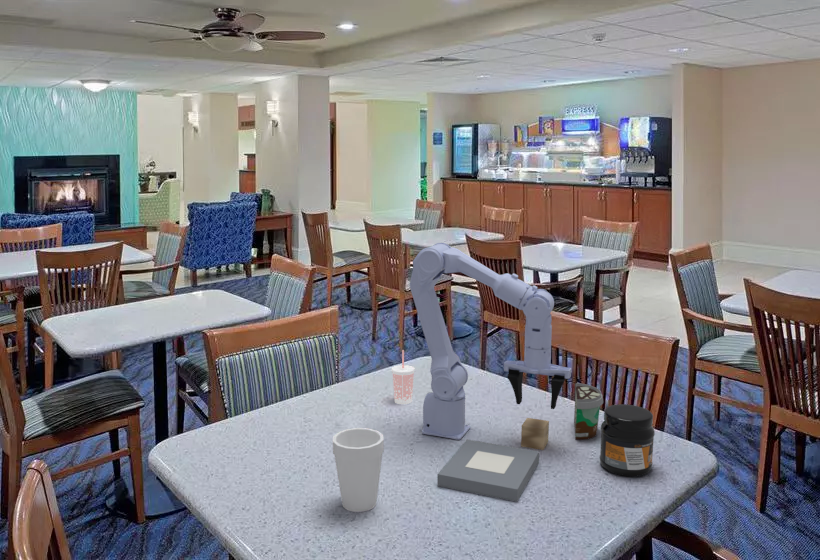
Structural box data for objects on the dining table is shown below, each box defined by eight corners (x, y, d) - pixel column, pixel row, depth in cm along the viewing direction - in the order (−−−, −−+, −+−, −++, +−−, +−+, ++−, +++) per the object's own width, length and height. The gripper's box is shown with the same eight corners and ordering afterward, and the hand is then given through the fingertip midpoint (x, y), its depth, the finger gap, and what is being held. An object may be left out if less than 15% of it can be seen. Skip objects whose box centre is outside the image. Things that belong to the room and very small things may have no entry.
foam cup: (335, 492, 133) (333, 428, 131) (383, 490, 134) (382, 426, 132) (334, 517, 124) (332, 450, 122) (385, 515, 125) (384, 447, 122)
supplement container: (638, 483, 136) (642, 426, 134) (589, 467, 143) (592, 413, 141) (660, 466, 144) (664, 411, 142) (613, 451, 151) (616, 399, 149)
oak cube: (521, 446, 154) (521, 425, 153) (526, 438, 158) (527, 417, 157) (543, 450, 152) (544, 429, 151) (548, 441, 156) (548, 420, 155)
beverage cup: (415, 397, 184) (415, 347, 182) (413, 406, 178) (413, 353, 176) (393, 396, 185) (392, 346, 182) (390, 405, 179) (389, 353, 176)
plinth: (437, 485, 136) (437, 473, 135) (466, 449, 152) (467, 438, 151) (517, 501, 129) (517, 488, 129) (538, 462, 146) (539, 450, 145)
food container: (603, 444, 154) (605, 402, 153) (575, 442, 156) (577, 400, 154) (600, 423, 166) (601, 383, 164) (573, 421, 167) (575, 382, 166)
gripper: (500, 347, 150) (499, 406, 152) (567, 354, 144) (565, 416, 147) (509, 339, 156) (507, 396, 159) (573, 345, 151) (571, 405, 153)
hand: (536, 405), depth 153 cm, fingers open, 7 cm apart
